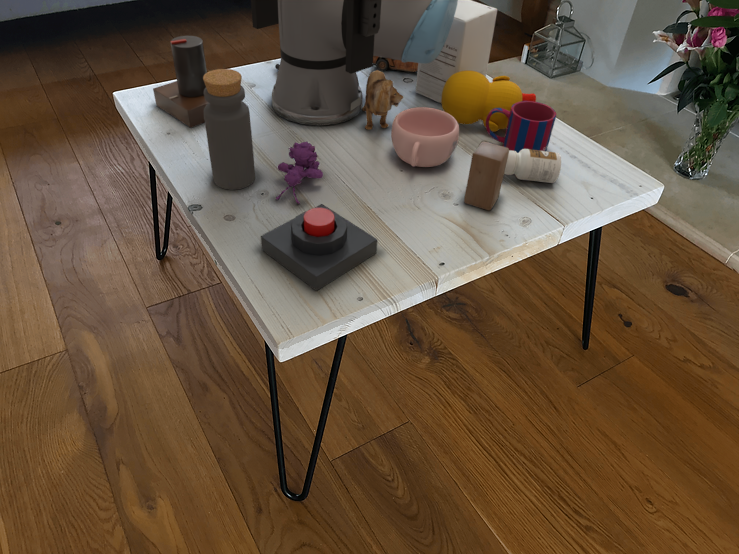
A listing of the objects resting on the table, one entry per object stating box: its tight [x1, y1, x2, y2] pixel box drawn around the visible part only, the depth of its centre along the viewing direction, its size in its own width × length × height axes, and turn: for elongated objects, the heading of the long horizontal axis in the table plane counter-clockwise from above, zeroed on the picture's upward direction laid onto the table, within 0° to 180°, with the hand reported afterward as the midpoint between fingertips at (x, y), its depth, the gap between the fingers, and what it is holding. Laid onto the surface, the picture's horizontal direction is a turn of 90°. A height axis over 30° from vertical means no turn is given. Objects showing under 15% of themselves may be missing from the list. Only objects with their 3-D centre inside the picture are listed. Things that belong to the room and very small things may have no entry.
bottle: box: [203, 68, 256, 191], centre depth 80 cm, size 6×6×15 cm
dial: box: [169, 35, 208, 97], centre depth 95 cm, size 5×5×8 cm
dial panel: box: [152, 80, 209, 129], centre depth 99 cm, size 10×9×3 cm
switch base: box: [260, 203, 378, 292], centre depth 73 cm, size 10×10×4 cm
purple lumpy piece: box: [275, 141, 324, 205], centre depth 83 cm, size 7×6×8 cm
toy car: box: [373, 56, 418, 74], centre depth 114 cm, size 6×12×7 cm, turn 84°
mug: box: [390, 106, 460, 168], centre depth 89 cm, size 12×10×6 cm
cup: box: [485, 101, 557, 153], centre depth 93 cm, size 7×10×7 cm
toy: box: [441, 70, 537, 133], centre depth 98 cm, size 9×9×15 cm
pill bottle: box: [504, 149, 562, 184], centre depth 87 cm, size 4×4×8 cm
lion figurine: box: [361, 69, 404, 131], centre depth 98 cm, size 15×5×9 cm, turn 11°
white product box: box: [414, 0, 498, 105], centre depth 103 cm, size 9×9×15 cm
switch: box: [304, 207, 334, 237], centre depth 71 cm, size 4×4×2 cm
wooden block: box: [463, 140, 509, 211], centre depth 82 cm, size 4×4×8 cm
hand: (309, 46), depth 58 cm, fingers open, 13 cm apart
